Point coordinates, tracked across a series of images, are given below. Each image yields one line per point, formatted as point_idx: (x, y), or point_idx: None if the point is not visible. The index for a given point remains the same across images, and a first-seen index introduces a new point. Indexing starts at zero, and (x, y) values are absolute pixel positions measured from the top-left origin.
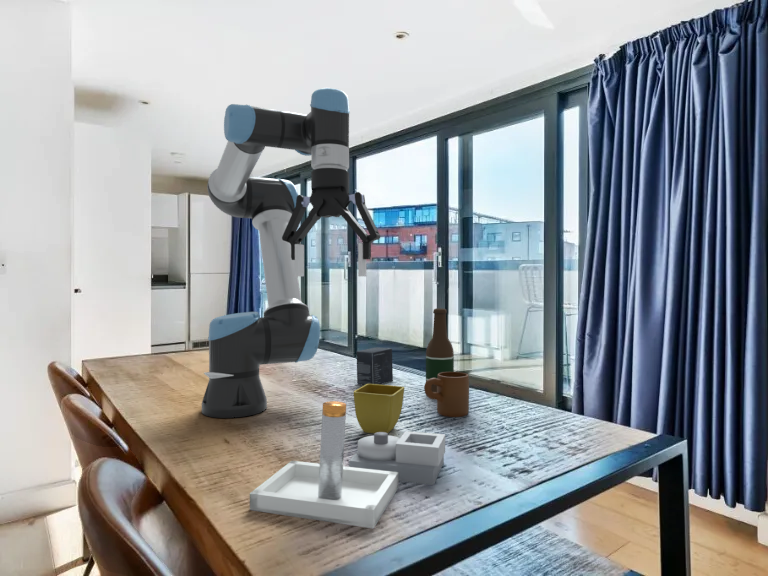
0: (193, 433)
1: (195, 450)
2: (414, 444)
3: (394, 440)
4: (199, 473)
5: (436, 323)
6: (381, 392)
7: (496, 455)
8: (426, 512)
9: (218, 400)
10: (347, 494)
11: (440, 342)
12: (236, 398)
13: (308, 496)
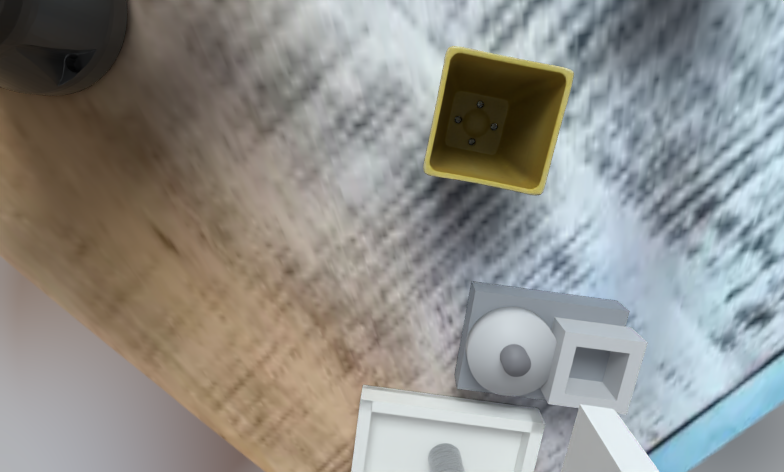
0: (65, 202)
1: (139, 299)
2: (583, 403)
3: (539, 343)
4: (213, 392)
5: None
6: (492, 65)
7: (727, 248)
8: None
9: (7, 84)
10: (468, 449)
11: None
12: (49, 68)
13: (415, 460)
